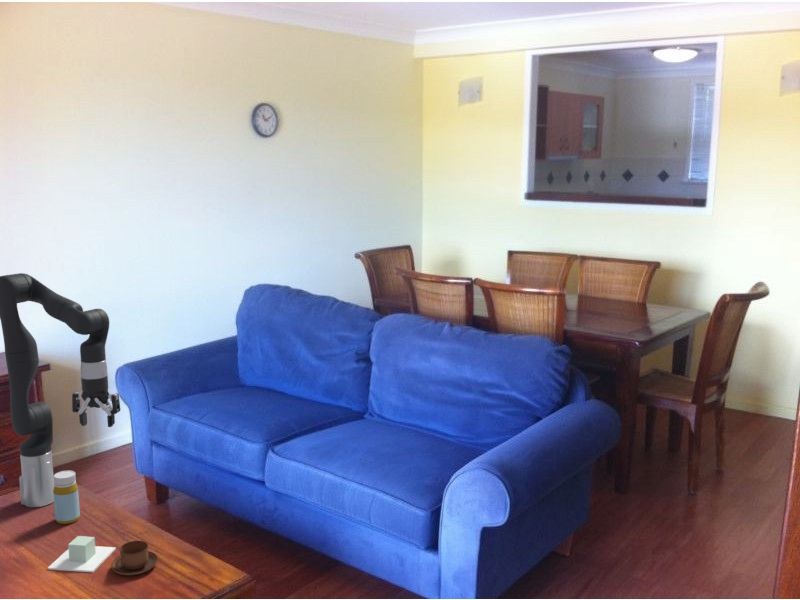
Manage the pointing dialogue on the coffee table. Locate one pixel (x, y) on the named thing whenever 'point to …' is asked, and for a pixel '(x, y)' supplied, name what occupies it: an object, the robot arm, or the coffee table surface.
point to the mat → (88, 566)
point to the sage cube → (82, 549)
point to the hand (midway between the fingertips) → (97, 425)
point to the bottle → (66, 497)
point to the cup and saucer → (134, 559)
